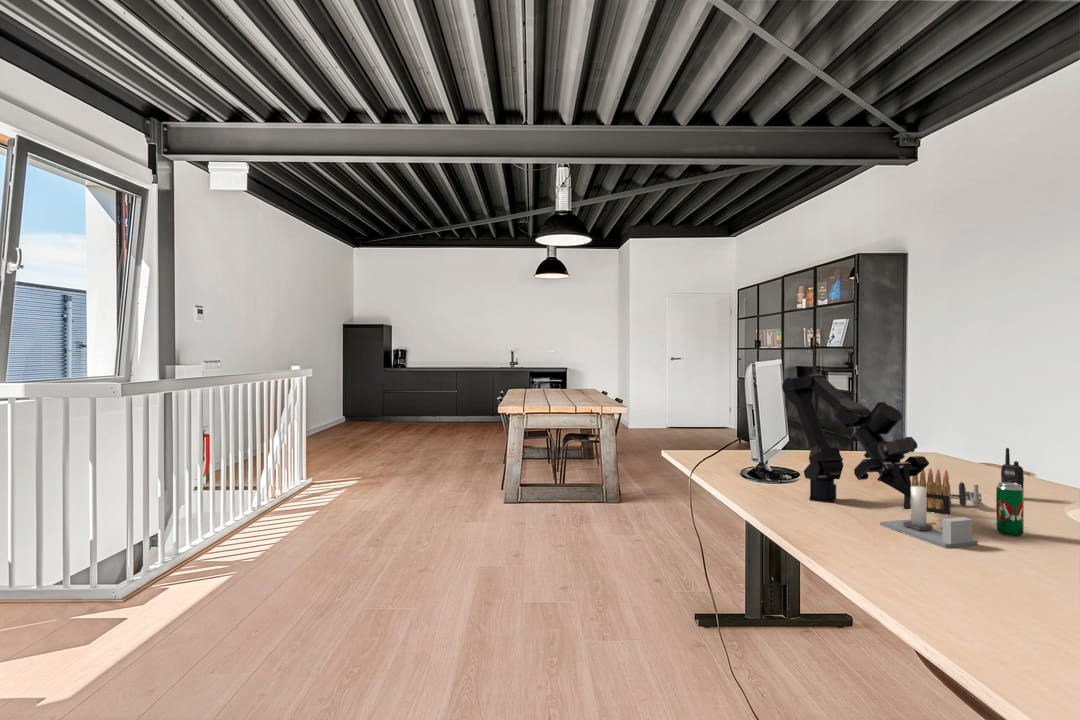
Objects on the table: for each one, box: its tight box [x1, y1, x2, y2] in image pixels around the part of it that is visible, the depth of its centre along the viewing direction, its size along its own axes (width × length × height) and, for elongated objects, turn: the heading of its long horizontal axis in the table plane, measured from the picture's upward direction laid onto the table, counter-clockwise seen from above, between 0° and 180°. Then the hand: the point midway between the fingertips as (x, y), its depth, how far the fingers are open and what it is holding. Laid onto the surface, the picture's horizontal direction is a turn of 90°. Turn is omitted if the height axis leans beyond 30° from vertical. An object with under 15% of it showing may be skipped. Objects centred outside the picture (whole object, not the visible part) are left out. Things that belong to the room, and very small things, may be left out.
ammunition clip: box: [903, 468, 951, 516], centre depth 157 cm, size 11×2×12 cm, turn 53°
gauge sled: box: [903, 485, 937, 530], centre depth 140 cm, size 4×7×10 cm, turn 103°
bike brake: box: [933, 481, 983, 508], centre depth 168 cm, size 14×7×20 cm
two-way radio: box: [1000, 447, 1025, 490], centre depth 171 cm, size 6×4×15 cm
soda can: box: [995, 481, 1025, 537], centre depth 137 cm, size 5×5×12 cm
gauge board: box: [879, 516, 978, 549], centre depth 137 cm, size 18×9×6 cm, turn 13°
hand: (911, 496), depth 141 cm, fingers closed
